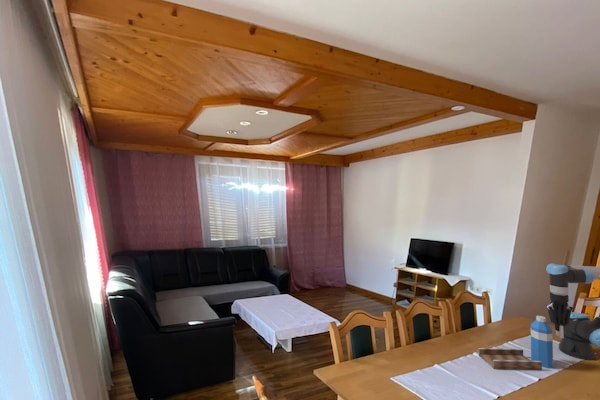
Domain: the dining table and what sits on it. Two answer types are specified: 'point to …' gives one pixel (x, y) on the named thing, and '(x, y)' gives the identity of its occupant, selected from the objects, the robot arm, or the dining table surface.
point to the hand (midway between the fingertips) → (559, 336)
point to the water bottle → (542, 342)
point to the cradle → (508, 359)
